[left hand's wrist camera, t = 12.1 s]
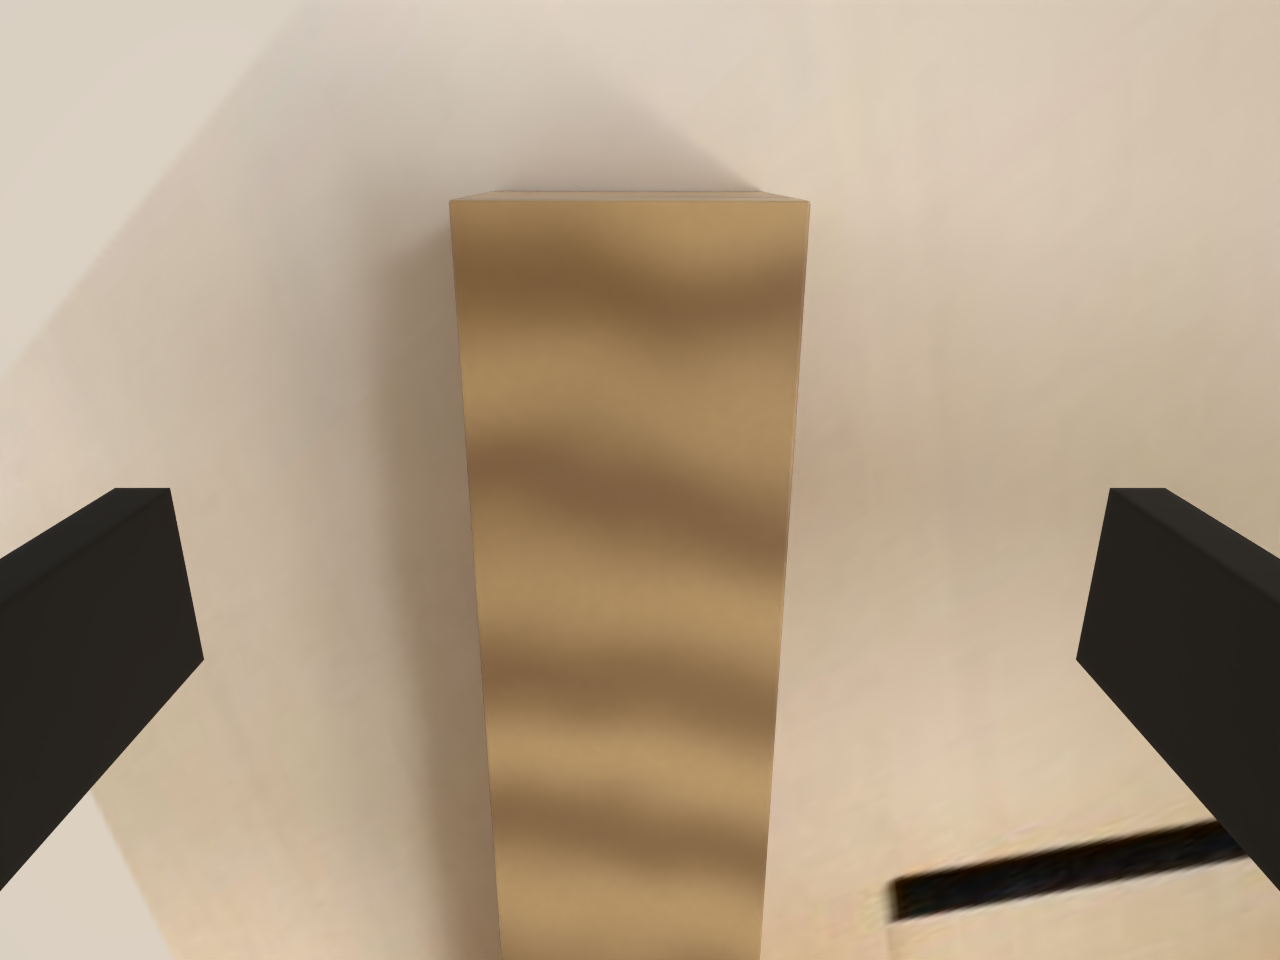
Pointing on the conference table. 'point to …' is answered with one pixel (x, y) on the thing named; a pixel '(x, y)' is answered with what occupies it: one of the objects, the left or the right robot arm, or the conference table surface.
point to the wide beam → (630, 554)
